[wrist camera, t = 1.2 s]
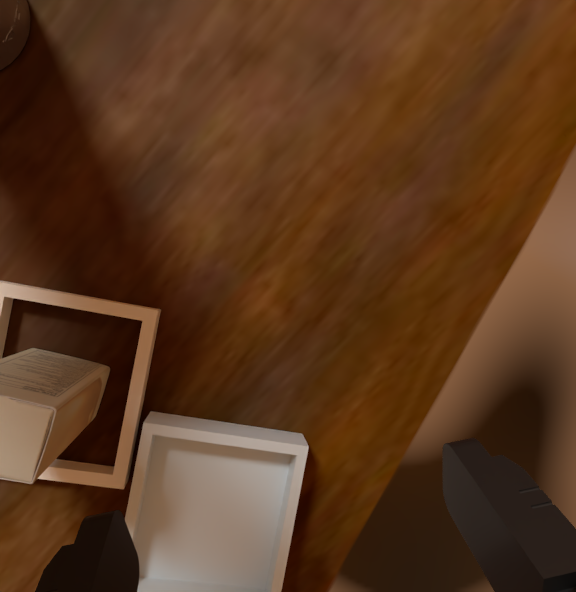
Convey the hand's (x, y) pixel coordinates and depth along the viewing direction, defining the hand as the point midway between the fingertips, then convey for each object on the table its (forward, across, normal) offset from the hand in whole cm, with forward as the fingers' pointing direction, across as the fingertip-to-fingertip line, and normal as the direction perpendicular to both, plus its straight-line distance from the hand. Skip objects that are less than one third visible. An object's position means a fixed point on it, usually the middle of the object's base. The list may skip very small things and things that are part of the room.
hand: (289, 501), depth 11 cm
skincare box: (+24, +16, +8) cm, 30 cm away
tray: (+20, +6, +20) cm, 29 cm away
